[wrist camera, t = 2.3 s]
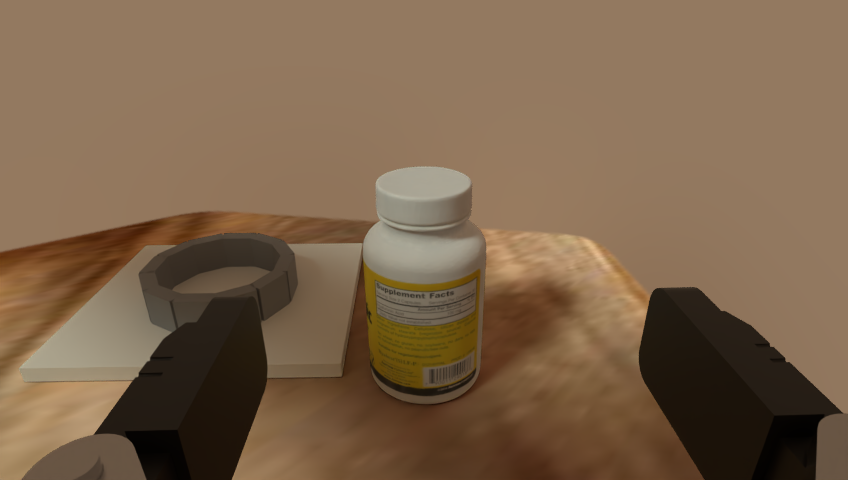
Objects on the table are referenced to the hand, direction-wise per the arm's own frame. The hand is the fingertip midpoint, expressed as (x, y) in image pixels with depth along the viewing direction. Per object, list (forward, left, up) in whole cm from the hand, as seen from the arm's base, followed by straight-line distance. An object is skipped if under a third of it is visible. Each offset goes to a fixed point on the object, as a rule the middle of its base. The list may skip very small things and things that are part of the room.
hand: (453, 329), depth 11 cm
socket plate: (-12, +17, -10) cm, 23 cm away
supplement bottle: (0, +11, -11) cm, 16 cm away
